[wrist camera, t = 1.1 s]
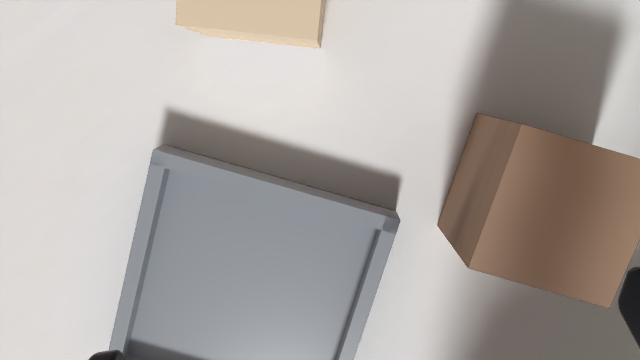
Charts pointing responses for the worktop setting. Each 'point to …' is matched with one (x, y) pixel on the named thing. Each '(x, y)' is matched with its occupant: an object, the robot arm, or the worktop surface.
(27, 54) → the worktop surface
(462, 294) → the worktop surface
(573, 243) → the walnut block
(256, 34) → the kraft box
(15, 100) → the worktop surface
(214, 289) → the tray
